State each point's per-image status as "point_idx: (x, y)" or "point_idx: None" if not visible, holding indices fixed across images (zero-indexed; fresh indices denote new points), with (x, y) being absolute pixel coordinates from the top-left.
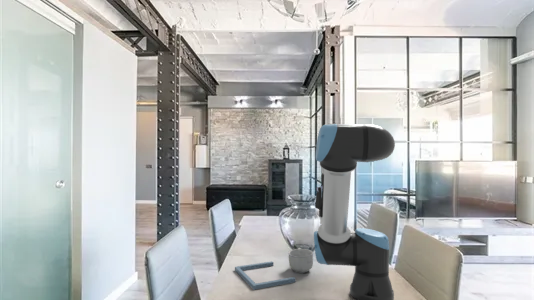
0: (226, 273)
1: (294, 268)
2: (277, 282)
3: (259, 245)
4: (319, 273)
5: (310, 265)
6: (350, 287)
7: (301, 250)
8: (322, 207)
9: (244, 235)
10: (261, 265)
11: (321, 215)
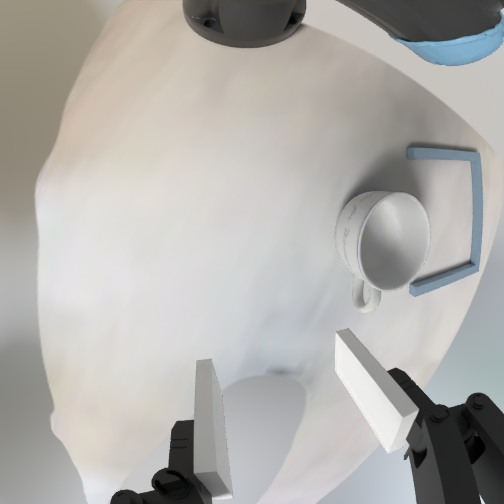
0: (485, 254)
1: (397, 212)
2: (446, 149)
3: (357, 428)
4: (319, 183)
5: (361, 195)
6: (302, 18)
7: (375, 283)
8: (449, 425)
9: (346, 471)
10: (438, 277)
11: (402, 377)
